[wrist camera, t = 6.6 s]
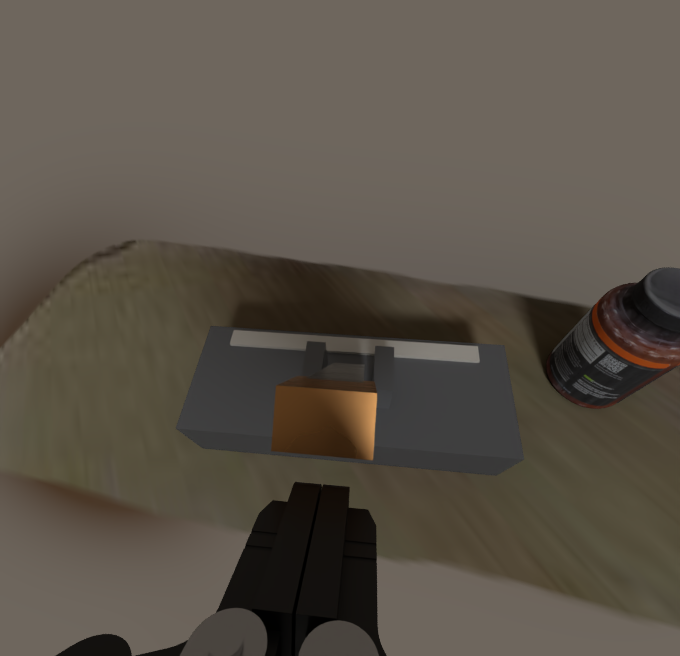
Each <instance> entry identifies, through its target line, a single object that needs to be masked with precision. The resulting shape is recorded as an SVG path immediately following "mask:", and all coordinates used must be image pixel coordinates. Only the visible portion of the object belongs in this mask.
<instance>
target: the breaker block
mask: <svg viewBox="0 0 680 656" xmlns="http://www.w3.org/2000/svg"><path fill="white" fill-rule="evenodd" d="M333 363H347V364H361V365H365V367H364V381H374V382H375V386H376V390H377V406H376V422H375V437H374V453H373V460H362V459H351V458H341V457H330V456H319V455H308V454H297V453H286V452H275V451H271V445H272V432H273V419H274V405H275V392H276V385H278V384H280V383H283V382H285V381H287V380H289V379H292V378H294V377H296V376H308V377H309V376H311V375H312V374H314V373H316V372H318V371H320V370H322V369H324V368H325V367H327V366H329V365H331V364H333ZM176 429H177V430H179V431H180V432H181V433H183V434H184V435H185V436H187V437H188V438H189V439H191V440H192V441H193V442H195V443H196V444H198V445H199V446H200V447H202V448H205V449H216V450H227V451H238V452H249V453H259V454H270V455H281V456H292V457H302V458H313V459H324V460H335V461H345V462H356V463H367V464H378V465H388V466H399V467H410V468H421V469H431V470H442V471H453V472H464V473H475V474H485V475H498V474H500V473H502V472H503V471H505V470H507V469H508V468H510V467H512V466H514V465H515V464H517V463H519V462H521V461H522V460H524V456H523V450H522V445H521V439H520V433H519V427H518V421H517V416H516V410H515V404H514V398H513V393H512V387H511V381H510V375H509V370H508V364H507V358H506V352H505V347H504V345H491V344H476V343H460V342H445V341H430V340H415V339H400V338H385V337H370V336H355V335H340V334H325V333H310V332H294V331H279V330H264V329H249V328H234V327H219V326H211V327H210V330H209V333H208V336H207V339H206V342H205V345H204V348H203V351H202V354H201V357H200V359H199V362H198V365H197V368H196V371H195V374H194V377H193V380H192V383H191V386H190V388H189V391H188V394H187V397H186V400H185V403H184V406H183V409H182V412H181V415H180V418H179V420H178V423H177V426H176Z"/></svg>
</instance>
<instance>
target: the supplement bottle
mask: <svg viewBox="0 0 680 656" xmlns="http://www.w3.org/2000/svg"><path fill="white" fill-rule="evenodd" d="M679 365H680V269H678V268H659V269H656V270H653V271H651V272H650V273H649V274H647V275H646V276H645V277H644V278H643V279H642V280H641V281H640V282H638V283H628V284H623V285H620V286H618V287H615V288H613V289H612V290H610V291H608V292H607V293H606V294H605V295H604V296H603V297H602V298H601V299H600V300H599V301H598V302H597V303H596V304H595V305H594V306H593V307H592V308H591V309H590V310H589V311H588V312H587V314H586V315H585V316H584V317H583V318H582V319H581V320H580V321H579V322H578V323H577V324H576V325H575V326H574V328H573V329H572V330H571V331H570V332H569V333H567V335H566V336H565V337H564V338H563V339H562V341H561V342H560V343H559V344H558V345H557V346H556V347H555V348H554V350H553V351H552V352H551V353H550V355H549V357H548V359H547V365H546V368H547V374H548V377H549V379H550V381H551V383H552V385H553V386H554V388H555V389H556V390H557V391H558V392H559V393H560V394H561V395H562V396H564V397H565V398H566V399H568V400H569V401H571V402H573V403H575V404H578V405H580V406H582V407H587V408H595V409H598V408H606V407H609V406H612V405H614V404H616V403H618V402H620V401H622V400H623V399H625V398H626V397H628V396H630V395H631V394H633V393H634V392H636V391H638V390H640V389H641V388H643V387H644V386H646V385H648V384H649V383H651V382H652V381H654V380H656V379H657V378H659V377H661V376H662V375H664V374H666V373H667V372H669V371H671V370H672V369H674V368H676V367H678V366H679Z"/></svg>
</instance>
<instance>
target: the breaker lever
mask: <svg viewBox="0 0 680 656" xmlns="http://www.w3.org/2000/svg"><path fill="white" fill-rule="evenodd" d="M364 367H365V365H361V364H347V363H333V364H331V365H329V366H327V367H325V368H324V369H322V370H320V371H318V372H316V373H314V374H312V375H311V376H309V377H308V376H296V377H294V378H292V379H289V380H287V381H285V382H283V383H280V384H278V385H276V392H275V405H274V419H273V432H272V445H271V451H275V452H286V453H297V454H308V455H319V456H330V457H341V458H351V459H362V460H373V453H374V437H375V422H376V406H377V390H376V386H375V382H374V381H364Z"/></svg>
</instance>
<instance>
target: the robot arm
mask: <svg viewBox="0 0 680 656" xmlns="http://www.w3.org/2000/svg"><path fill="white" fill-rule="evenodd" d="M349 490H350V487H345V486H334V485H323V487H322V485H321V484H312V483H301V482H295V483H294V485H293V488H292V491H291V494H290V496H289V499H288V502H284V501H274V500H273V501H271V502H270V503H269V504H268V505H267V506H266V507H265V508H264V509H263V510H262V511H261V512H260V513H259V515H258V517H257V519H256V522H255V524H254V526H253V529H252V532H251V534H250V536H249V538H248V541H247V543H246V546H245V549H244V550H243V552H242V554H241V557H240V559H239V561H238V564H237V566H236V568H235V571H234V573H233V575H232V578H231V580H230V582H229V585H228V587H227V589H226V592H225V594H224V597H223V599H222V601H221V603H220V606H219V608H218V610H217V612H216V613H215V614H213V615H211V616H210V617H208V618H207V619H205V620H204V621H203V622H202V623H201V624H200V625H199V626H198V627H197V628H196V629H195V631H194V632H193V633H192V635H191V636H190V638H189V640H187V641H186V642H184V643H181V644H179V645H177V646H174V647H170V648H167V649H163V650H158V651H154V652H149V653H145V654H140V655H136V656H386V654H385V652H384V650H383V648H382V645H381V643H380V639H379V635H378V627H377V563H376V560H377V553H376V524H375V522H374V520H373V519H372V517H371V515H370V513H369V511H368V510H366V509H356V508H349ZM56 656H132V655H131V650H130V647H129V645H128V643H127V642H126V641H125V640H124V639H123V638H121V637H119V636H117V635H112V634H102V635H96V636H92V637H89V638H86V639H84V640H82V641H80V642H78V643H76V644H74V645H72V646H70V647H69V648H67V649H66V650H65V651H62V652H61V653H59V654H58V655H56Z"/></svg>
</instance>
